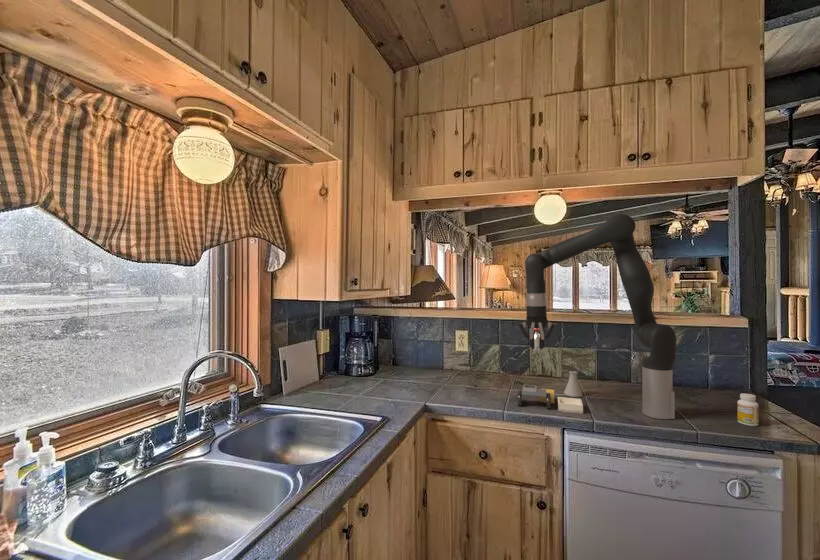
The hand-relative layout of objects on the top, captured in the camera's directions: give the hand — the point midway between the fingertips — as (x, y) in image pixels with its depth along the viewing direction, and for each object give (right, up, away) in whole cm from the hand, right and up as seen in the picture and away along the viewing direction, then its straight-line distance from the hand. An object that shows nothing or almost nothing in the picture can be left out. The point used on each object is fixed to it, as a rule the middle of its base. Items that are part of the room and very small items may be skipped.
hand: (537, 348), depth 148 cm
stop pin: (0, -2, 0) cm, 2 cm away
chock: (+6, -22, +5) cm, 24 cm away
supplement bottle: (+66, -22, -19) cm, 72 cm away
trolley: (-1, -22, 0) cm, 22 cm away
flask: (+20, -23, +13) cm, 33 cm away
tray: (+11, -22, -4) cm, 25 cm away
